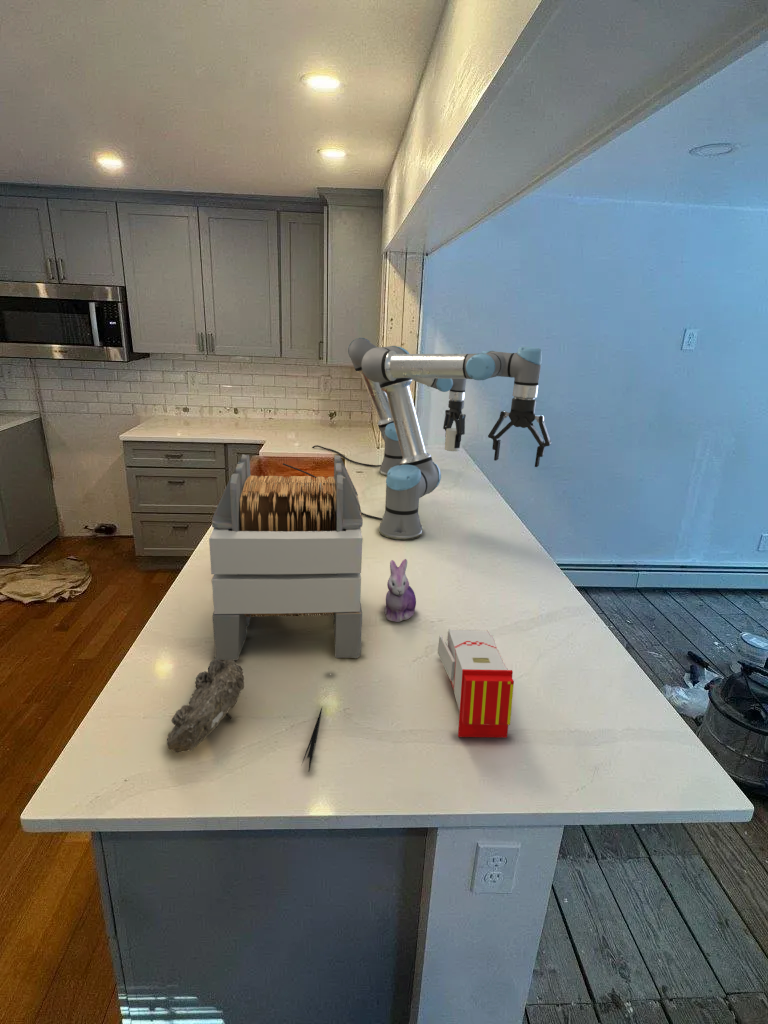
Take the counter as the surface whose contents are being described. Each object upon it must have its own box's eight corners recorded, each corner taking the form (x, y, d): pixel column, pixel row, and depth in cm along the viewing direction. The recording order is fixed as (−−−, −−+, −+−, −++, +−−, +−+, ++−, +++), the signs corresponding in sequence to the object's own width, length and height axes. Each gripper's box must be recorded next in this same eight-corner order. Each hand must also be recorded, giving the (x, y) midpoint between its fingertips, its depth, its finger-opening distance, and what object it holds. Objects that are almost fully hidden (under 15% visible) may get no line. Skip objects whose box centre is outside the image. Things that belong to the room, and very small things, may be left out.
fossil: (192, 660, 117) (244, 628, 112) (224, 691, 120) (276, 661, 115) (142, 746, 98) (202, 712, 93) (182, 779, 101) (242, 748, 96)
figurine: (392, 627, 141) (395, 572, 136) (374, 608, 149) (376, 556, 144) (425, 619, 145) (429, 566, 140) (405, 601, 154) (408, 550, 149)
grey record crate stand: (234, 590, 156) (226, 444, 142) (353, 588, 159) (357, 447, 146) (212, 662, 124) (200, 485, 110) (361, 659, 128) (367, 486, 114)
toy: (488, 613, 130) (523, 677, 101) (484, 667, 133) (517, 744, 104) (435, 612, 130) (455, 676, 101) (432, 666, 133) (451, 743, 103)
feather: (331, 679, 122) (336, 673, 122) (307, 777, 96) (313, 769, 95) (324, 675, 122) (329, 669, 121) (298, 772, 95) (304, 764, 95)
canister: (462, 450, 285) (464, 430, 281) (451, 452, 280) (453, 431, 277) (452, 447, 290) (454, 427, 287) (441, 448, 286) (443, 428, 282)
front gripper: (566, 400, 178) (556, 466, 185) (489, 392, 188) (483, 454, 195) (562, 403, 171) (552, 471, 179) (482, 395, 182) (476, 459, 189)
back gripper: (475, 403, 271) (470, 450, 278) (450, 396, 287) (446, 441, 295) (463, 403, 267) (458, 451, 275) (438, 397, 283) (434, 442, 291)
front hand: (516, 462), depth 187 cm, fingers open, 13 cm apart
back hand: (452, 445), depth 285 cm, fingers closed on canister, 7 cm apart
